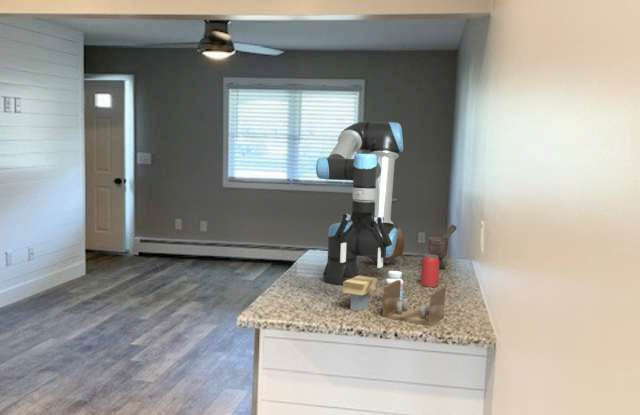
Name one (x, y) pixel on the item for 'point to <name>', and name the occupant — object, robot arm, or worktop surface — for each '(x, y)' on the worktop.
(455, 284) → the worktop surface
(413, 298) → the worktop surface
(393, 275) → the pill bottle
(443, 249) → the mortar and pestle
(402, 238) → the vase
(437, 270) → the beer can
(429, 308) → the peg frame
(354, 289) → the shelf board
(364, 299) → the riser block
